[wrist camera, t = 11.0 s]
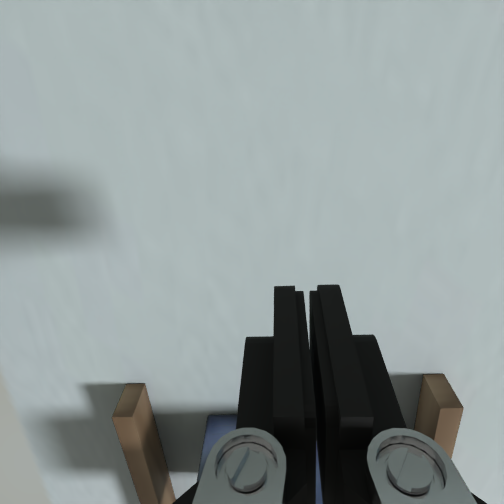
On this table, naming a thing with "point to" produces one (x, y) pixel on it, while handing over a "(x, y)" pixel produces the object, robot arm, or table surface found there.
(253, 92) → the table surface
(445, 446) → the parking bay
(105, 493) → the table surface
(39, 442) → the table surface
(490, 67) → the table surface
